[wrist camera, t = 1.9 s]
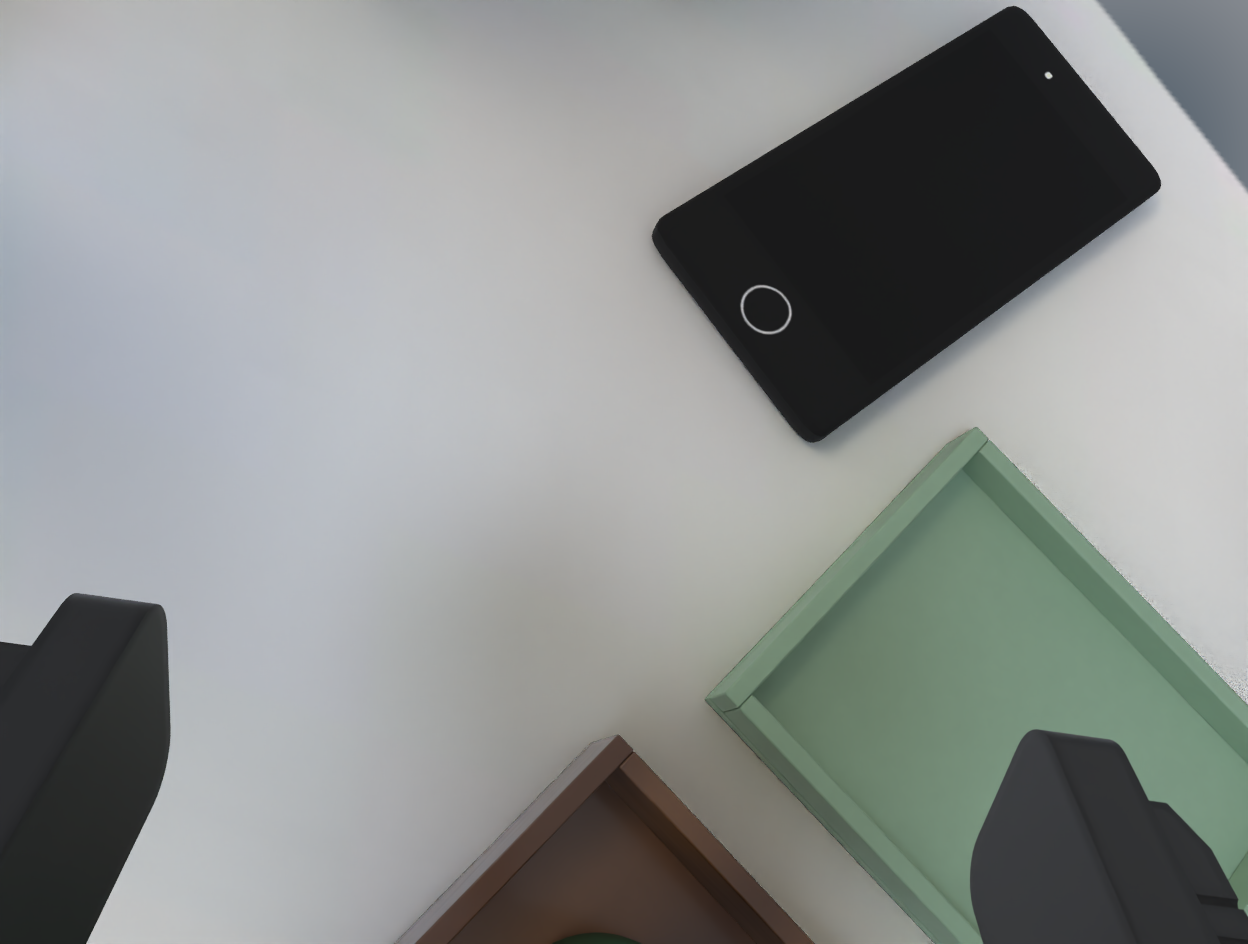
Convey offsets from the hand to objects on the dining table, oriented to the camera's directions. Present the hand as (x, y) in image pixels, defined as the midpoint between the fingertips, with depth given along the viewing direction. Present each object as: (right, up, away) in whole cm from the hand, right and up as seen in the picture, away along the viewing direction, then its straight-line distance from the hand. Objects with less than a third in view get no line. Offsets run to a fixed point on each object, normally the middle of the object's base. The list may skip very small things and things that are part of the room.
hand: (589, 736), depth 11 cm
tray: (+12, -6, +26) cm, 30 cm away
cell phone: (+10, +11, +31) cm, 35 cm away
